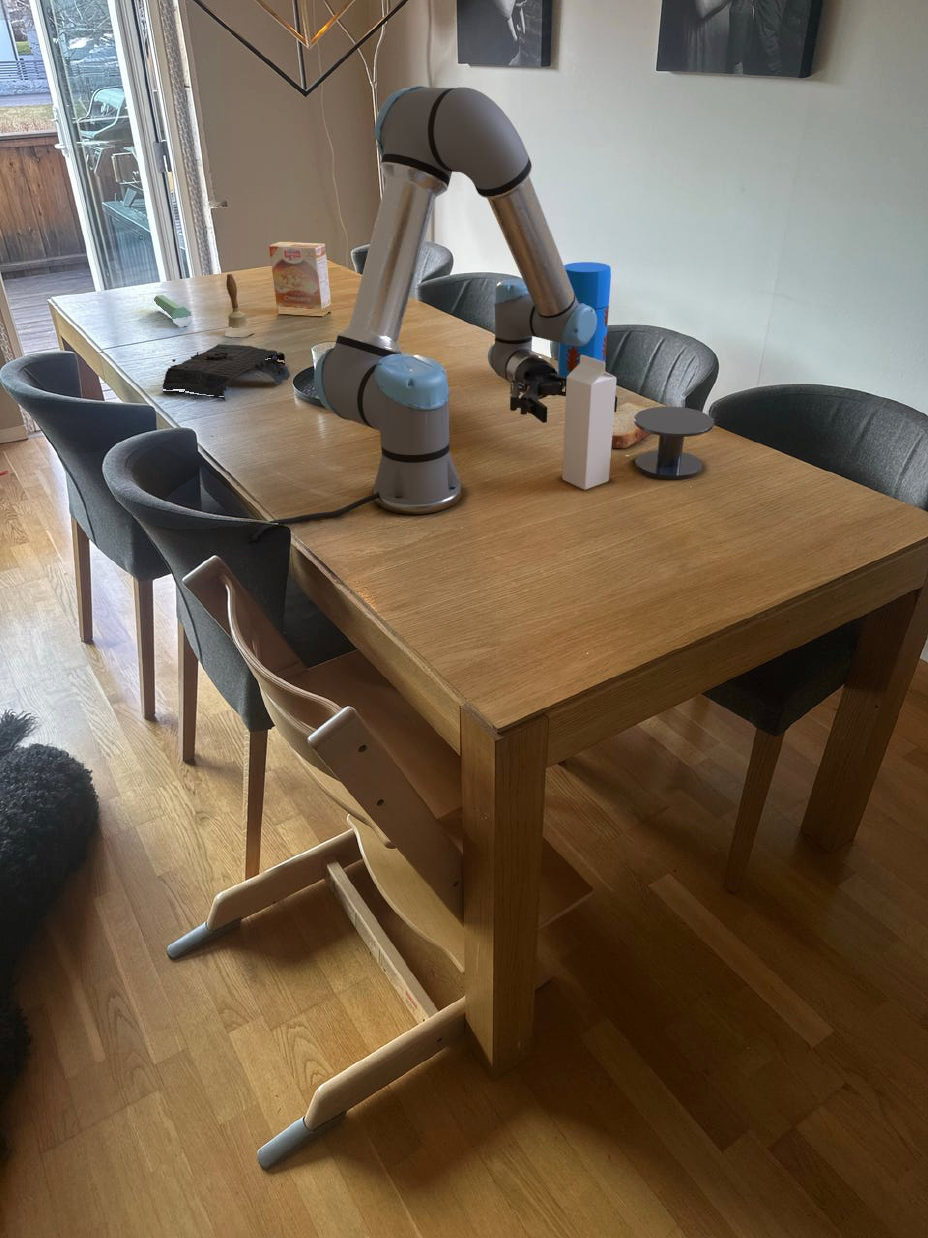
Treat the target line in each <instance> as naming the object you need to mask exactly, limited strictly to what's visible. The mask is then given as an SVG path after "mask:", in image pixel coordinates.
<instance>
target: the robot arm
mask: <svg viewBox="0 0 928 1238" xmlns="http://www.w3.org/2000/svg"><path fill="white" fill-rule="evenodd" d="M374 138H375V141H377V144H376V148H377V151H378V153H379V155H380V157H381V161H380V165H379V169H380V171H381V173H382V175H383V177H384V179H385V183H384V187H383V190H382V195H381V199H380V203H379V206H378V211H377V215H376V218H375V223H374V226H373V231H372V235H371V238H370V243H369V247H368V251H367V254H366V259H365V261H364V267H363V270H362V274H361V277H360V278H361V279H360V282H359V286H358V290H357V294H356V298H355V301H354V306H353V310H352V313H351V318H350V322H349V326H347V327H346V328H345V329H343V330H341V331H339V332H338V334H337V336H336V341H335V344H334V346H332V347H330V348H328V349H326V350H325V353H322V354H321V355H320V356H319V358H318V360H317V362H316V365H315V368H314V375H313V382H314V383H313V384H314V389H315V393H316V396H317V397H318V400H319V401H320V404H321V405H322V406H323V407H324V408H325V409H326V410H328V411H329V412H331V413H332V414H334V415H336V416H338V417H339V418H341V419H343V420H346V421H351V422H355V423H357V424H360V425H363V426H366V427H368V428H370V429H374V430H376V431H379V437H380V438H379V439H380V448H381V449H380V450H381V457H380V461H379V466H378V469H377V473H376V477H375V481H374V485H373V493H372V494H370V495H368V496H365V497H363V498H361V499H358V500H355V501H354V502H352V503H350V504H348V505H346V506H344V507H341V508H339V509H336V510H332V511H323V512H316V513H315V512H314V513H308V514H302V515H297V516H293V517H287V518H278V519H274V520H270V521H268V522H269V523H278V524H281V525H280V526H283V525H290V524H296V523H301V522H305V521H313V520H319V519H328V518H335V517H338V516H341V515H344V514H346V513H349V512H351V511H352V510H355V509H356V508H360V507H361V506H364V505H366V504H368V503H371V502H372V501H375V503H376V504H377V505H378V506H379V507H381V508H383V509H385V510H387V511H390V512H393V513H398V514H405V515H424V514H432V513H433V514H434V513H437V512H440V511H444V510H446V509H449V508H451V507H453V506H454V505H456V504H457V503H458V502H459V501H460V499H461V497H462V482H461V479H460V476H459V474H458V470H457V468H456V465H455V463H454V460H453V458H452V455H451V445H450V444H451V443H450V388H449V386H448V375H447V372H446V370H445V368H444V367H443V365H442V364H441V363H439V362H438V361H437V360H435V359H433V358H431V357H428V356H425V355H422V354H418V353H417V354H410V353H404V352H403V350H402V348H401V346H400V344H399V337H400V334H401V330H402V327H403V323H404V318H405V315H406V312H407V307H408V303H409V300H410V296H411V291H412V288H413V285H414V281H415V277H416V273H417V270H418V266H419V262H420V260H421V259H420V258H421V255H422V251H423V247H424V244H425V239H426V236H427V233H428V228H429V225H430V220H431V217H432V213H433V209H434V205H435V202H436V199H437V197H439V196H441V195H442V194H444V193H446V192H447V191H448V189H449V186H450V181H451V178H452V174H453V173H461V174H463V175H465V176H466V177H467V178H468V179H469V180H471V182H472V183H473V186H474V187H475V191H476V192H477V194H478V196H480V197H482V198H486V199H487V202H488V204H489V205H490V209H491V211H492V213H493V215H494V217H495V219H496V221H497V224H498V227H499V229H500V231H501V233H502V236H503V237H504V239H505V242H506V245H507V247H508V249H509V251H510V253H511V256H512V258H513V260H514V262H515V265H516V267H517V269H518V272H519V273H520V276H521V278H510V279H505V280H501V281H499V282H498V283H497V285H495V295H494V296H495V297H494V304H493V307H494V341H493V343H492V344H491V346H490V347H489V349H488V352H487V361H488V364H489V366H490V368H491V369H492V370H493V371H494V373H496V374H495V375H497V376H499V377H500V378H502V379H504V380H505V381H507V382H508V383H509V389H510V390H509V394H510V398H509V411H512V412H516V411H517V410H518V409H520V415H527V414H529V415H532V416H534V417H535V418H536V419H538V420H539V421H540V422H541V423H543V424H546V423H548V406H546V405H545V404H544V403H542V402H541V401H540V400H542V399H545V398H547V397H548V396H551V397H552V396H553V397H555V396H561V397H565V398H566V384H567V377H566V376H561V375H558V371H557V370H556V367H555V366H554V365H553V364H552V363H550V362H549V361H548V360H546V359H544V358H543V357H542V356H540V355H538V354H537V353H535V352H534V351H533V350H532V348H533V345H532V344H533V338H537V339H542V340H543V339H544V340H547V341H550V342H553V343H558V344H559V343H562V344H564V345H574V346H583V345H585V344H586V343H588V342H589V340H590V339H591V338H592V336H593V335H594V332H595V329H596V324H597V317H596V313H595V311H594V309H592V308H591V307H590V306H587V305H585V304H584V303H582V304H581V303H580V304H579V303H578V301H577V299H576V296H575V294H574V291H573V288H572V286H571V283H570V280H569V278H568V275H567V273H566V270H565V267H564V265H565V264H564V263H563V260H562V257H561V254H560V252H559V250H558V247H557V245H556V242H555V239H554V236H553V234H552V231H551V228H550V226H549V224H548V221H547V218H546V215H545V214H544V213H545V212H544V210H543V208H542V205H541V203H540V200H539V197H538V195H537V193H536V190H535V187H534V184H533V183H532V179H531V177H530V175H531V172H532V170H533V169H532V168H533V164H532V161H531V158H530V156H529V154H528V153H529V152H528V150H527V148H526V147H525V144H524V141H523V140H522V137H521V136H520V134H519V132H518V130H517V129H516V127H515V126H514V124H513V122H512V121H511V119H510V118H509V116H507V114H506V113H505V112H504V110H503V109H502V108H501V107H500V106H499V105H498V104H497V103H496V102H495V101H494V100H493V99H492V98H490V97H489V96H488V95H487V94H485V93H483V92H482V91H480V90H477V89H476V88H475V89H474V88H472V87H466V86H465V87H463V86H462V87H427V86H425V85H423V86H422V85H416V86H411V87H405V88H401V89H398V90H397V91H395V92H393V93H391V94H390V95H389V96H388V97H387V98H386V100H384V102H383V103H382V105H381V107H380V108H379V111H378V113H377V116H376V120H375V125H374ZM521 393H522V395H521ZM617 406H618V396H616V395H615V405H614V412H616V410H617ZM259 538H260V537H255V538H252V537H250V540H251V541H255V540H258V539H259Z"/></svg>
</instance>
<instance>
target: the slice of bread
mask: <svg viewBox="0 0 928 1238" xmlns="http://www.w3.org/2000/svg"><path fill="white" fill-rule="evenodd" d="M660 407H664V405H661V406H660ZM649 408H650V407H646V406H643V405H640V404H637V403H634V402H631V401H630V402H629V401H625V402H622V403H620V404H617V410H616V412H614V418H613V431H612V444H611V448H612V449H613V448H614V449H615V448H616V449H627V448H630V446H634V445H635V444H638V443H639V442H640V441H643V439H644V438H646V437H647V436H649V435H650V434H651V433H648V432H646V431H643V430H641V429H640V428H638V427H637V426H636V425H635V423H634V417H635V415H636V414H637V413H638V412H640V411H642V410H645V409H649Z"/></svg>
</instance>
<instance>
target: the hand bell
mask: <svg viewBox="0 0 928 1238" xmlns="http://www.w3.org/2000/svg"><path fill="white" fill-rule="evenodd" d="M225 282H226V283H225V285H226V290H227V294H228V295H229V297H230V302H231V308H232V312H231V313H229V314H228V324H227V327H228V326H229V327H232V328H242V327H247V326H248V325H249V322H248V321H247V318H246V314H245V313H244V312H242V311H240V308H239V304H238V299H237V298H238V297H237V296H238V288H237V287H238V286H237V283H236V280H235V278H234V276H233V274H232V273H228V274H226V281H225Z"/></svg>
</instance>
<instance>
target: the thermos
mask: <svg viewBox="0 0 928 1238" xmlns="http://www.w3.org/2000/svg"><path fill="white" fill-rule="evenodd" d="M563 265H564V267H565V270H566V273H567V275H568V278H569V280H570V283H571V286H572V288H573V291H574V294H575V296H576V299H577V301H578V303H579V304H580V303H581V304H582V303H584V304H585V305H587V306H590V307H591V308H592V309H594V311H595V313H596V317H597V324H596V329H595V332H594V335H593V336H592V338H591V339H590V340H589V342H588V343H586V344H585V345H583V346H574V345H564V344H562V343H558V352H557V353H558V354H557V374H558V375H561V376H566V377H567V376H568V375H569V374H570V373H571V372H572V371H573V370H574V369H575V368H576V367H577V366H578V365H579V364H580V356H581V355H584V356H587V357H591V358H594V359H597V360H600V361H603V362H605V363H606V353H607V341H608V340H607V339H608V327H609V326H608V325H609V312H610V311H609V310H610V296H611V294H610V293H611V282H612V281H611V280H612V269H611V268H612V267H611V266H610V265H609V264H606V263H601V262H595V261H594V262H593V261H592V262H591V261H580V262H570V263H567V264H563Z"/></svg>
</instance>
